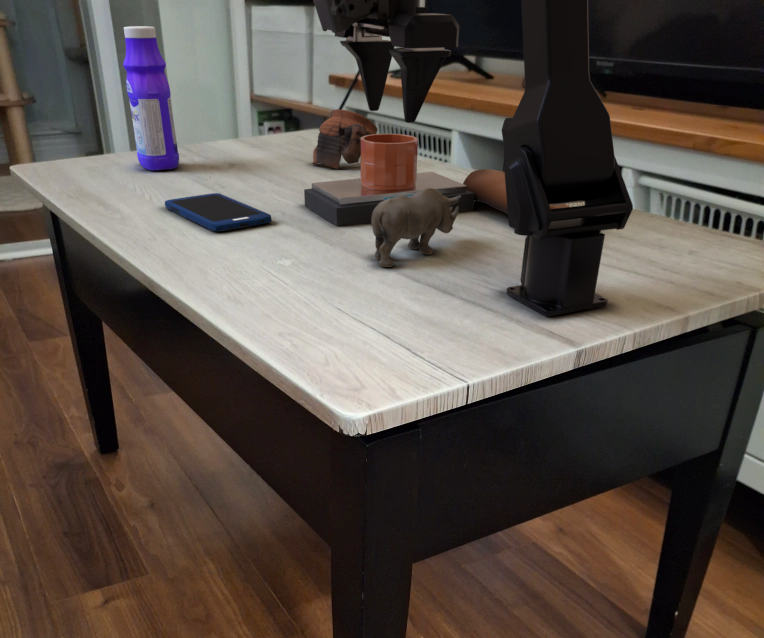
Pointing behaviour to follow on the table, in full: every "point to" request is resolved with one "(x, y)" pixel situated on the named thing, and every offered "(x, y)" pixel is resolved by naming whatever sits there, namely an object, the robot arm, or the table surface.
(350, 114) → the brown irregular curved piece
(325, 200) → the scale
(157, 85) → the bottle
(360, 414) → the table surface
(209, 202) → the cell phone
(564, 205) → the sunglasses case
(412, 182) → the cup
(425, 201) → the rhino figurine
